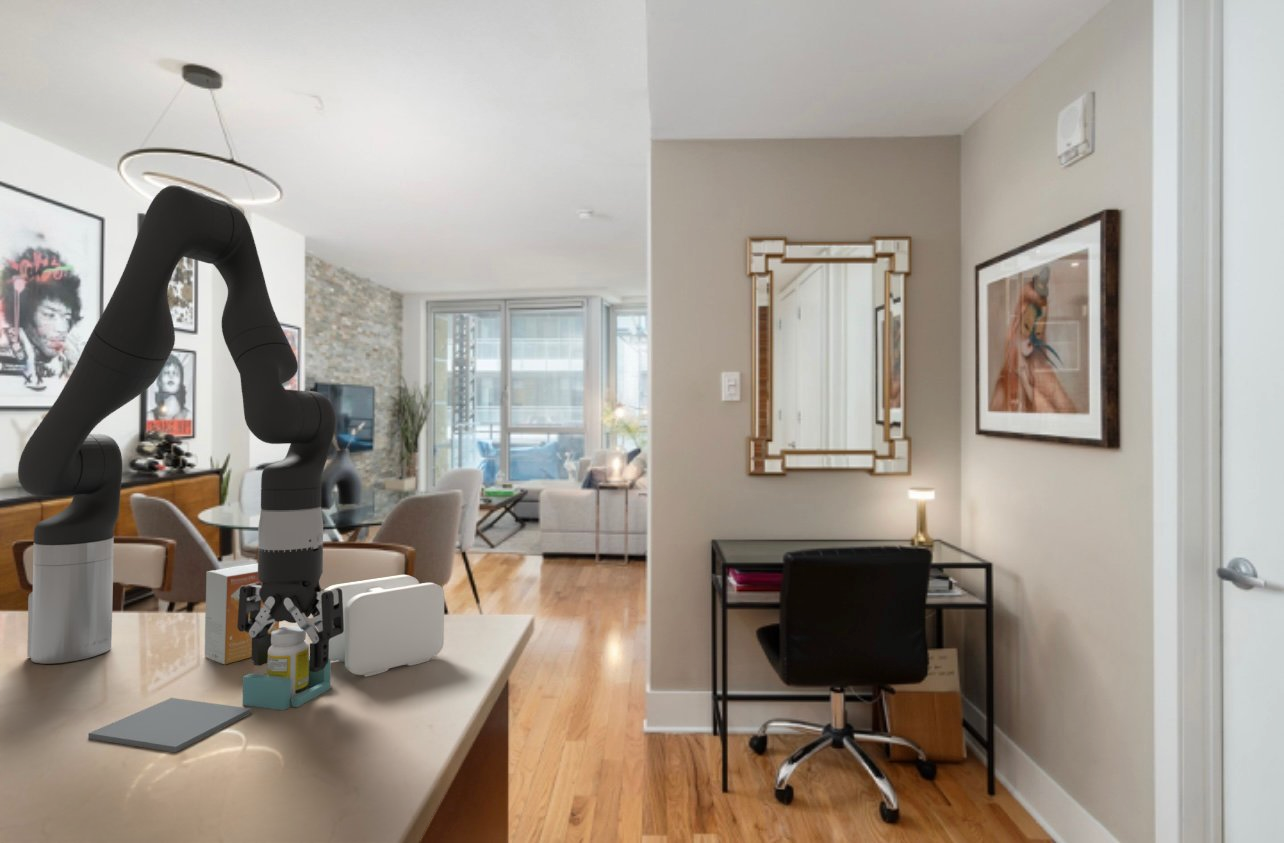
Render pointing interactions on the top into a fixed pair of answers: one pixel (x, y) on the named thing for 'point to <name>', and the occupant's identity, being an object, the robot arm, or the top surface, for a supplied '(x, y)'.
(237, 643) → the small box
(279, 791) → the top surface
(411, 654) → the cable organizer
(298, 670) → the supplement bottle
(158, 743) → the mat
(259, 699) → the teal corner cradle
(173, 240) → the robot arm
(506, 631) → the top surface
